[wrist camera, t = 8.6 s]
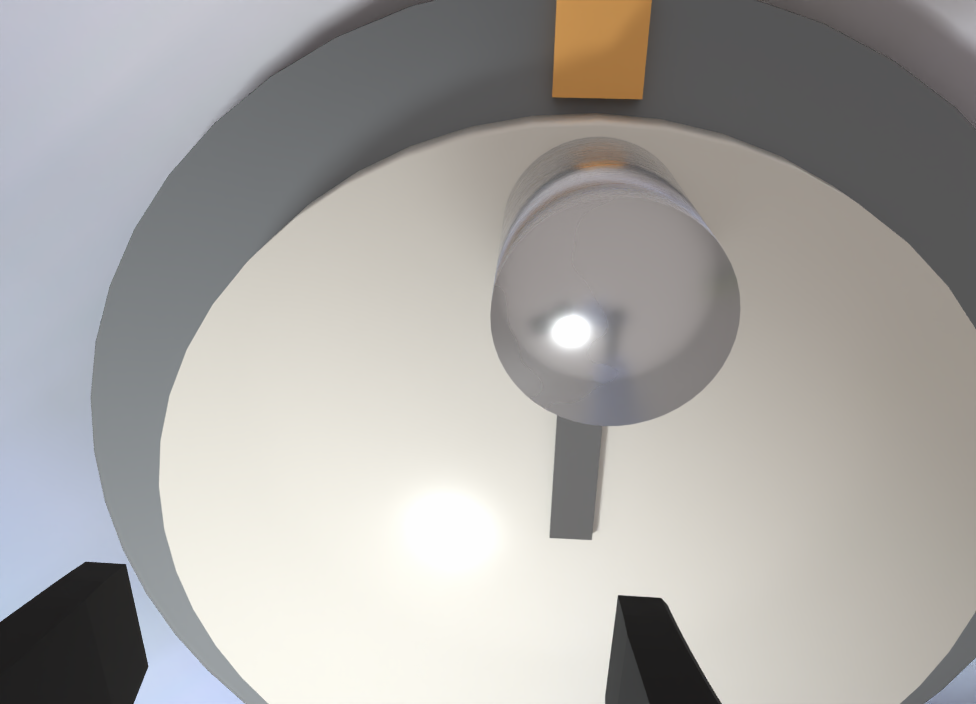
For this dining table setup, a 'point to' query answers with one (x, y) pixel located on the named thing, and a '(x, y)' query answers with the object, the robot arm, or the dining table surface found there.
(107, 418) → the stand base
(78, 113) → the dining table surface
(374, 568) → the dial
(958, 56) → the dining table surface
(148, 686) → the dining table surface
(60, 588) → the robot arm
